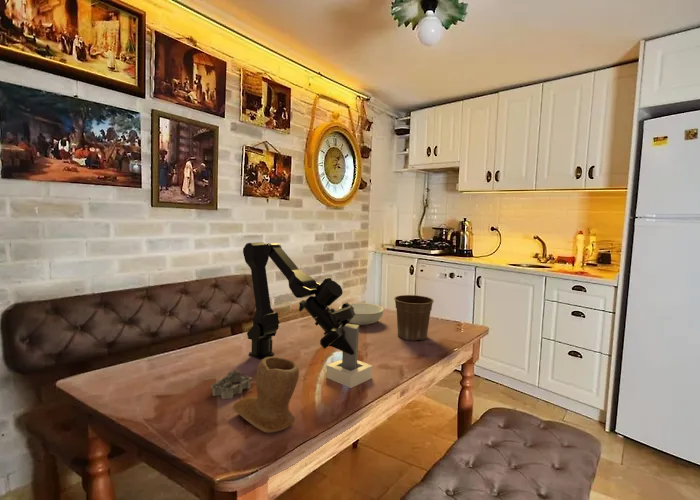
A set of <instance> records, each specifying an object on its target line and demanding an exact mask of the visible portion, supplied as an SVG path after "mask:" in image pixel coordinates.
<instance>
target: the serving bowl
mask: <svg viewBox="0 0 700 500" xmlns="http://www.w3.org/2000/svg"><path fill="white" fill-rule="evenodd" d="M348 304H349V305H352V307H354V309H353V310H354V313H355V315H354V317H353V318H351V321H350V322H349V324H355V325H359V326H365V325H370V324H375V323H377V322H378V321H380V319H381V318H382V317H383V314H384V307H382V306H380V305H377V304H373V303H365V302H354V303H353V302H352V303H348ZM342 305H343V304H342ZM342 305H340V306H339V307H338V310H339V309H342Z"/></svg>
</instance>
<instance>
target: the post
mask: <svg viewBox="0 0 700 500" xmlns="http://www.w3.org/2000/svg"><path fill="white" fill-rule="evenodd" d="M344 331H345V339H346V340H347V342H348V343H349V345H350V346H351V348H352V349H353V351H354V354H353V355H350V354H348V353H346V352H344V351H342V356H341V357H342V358H341V359H342V368H344V369H347V370H349V371H352V370H354V369H357V360H358V358H359V357H358V355H359V336H360V325H357V324H353V323H347V324H346V325H345V326H344Z"/></svg>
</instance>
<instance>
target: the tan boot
mask: <svg viewBox="0 0 700 500" xmlns="http://www.w3.org/2000/svg"><path fill="white" fill-rule="evenodd" d="M299 374H300V369H299V366H298V364H297V363H296V362H294V361H293V360H291V359H287V358H284V357H278V356H267V357H264V358H261V361H259V363H258V365H257V369H256V378H255V386H256V393H257V394H256V395H257V396H249V397H244V398H241V399H240V400H238V401H237V402H235V403H234V404H233V405H232V409H233V411H235V413H236V414H238V415H239V416H240V417H242V418H243V419H244V420H246V421H247V422H248V423H249V424H250V425H252V426H253V427H255V428H256V429H258V430H259V431H261V432H264V433H276V432H280V431H282V430H286V429H288V428H290V426H292V424H293V423H295V417H294V415H293V414H292V412H290V410H289V403H290V401H291V399H292V396H293V394H294V393H295V390H296V387H297V385H298V381H299V376H300V375H299Z"/></svg>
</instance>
